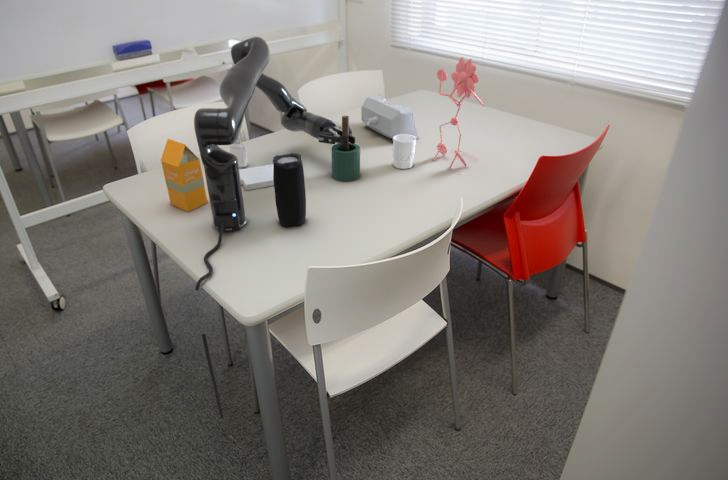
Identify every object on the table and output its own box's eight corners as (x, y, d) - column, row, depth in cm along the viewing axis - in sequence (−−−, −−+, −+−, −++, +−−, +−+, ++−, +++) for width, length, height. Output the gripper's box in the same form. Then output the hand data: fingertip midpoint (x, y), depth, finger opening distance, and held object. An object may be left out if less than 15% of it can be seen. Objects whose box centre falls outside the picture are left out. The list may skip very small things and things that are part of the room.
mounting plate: (281, 167, 181) (280, 162, 179) (291, 182, 170) (291, 176, 169) (230, 176, 175) (230, 171, 174) (239, 191, 165) (238, 186, 164)
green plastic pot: (361, 180, 170) (361, 152, 165) (333, 182, 170) (332, 153, 164) (357, 169, 178) (358, 141, 173) (331, 170, 178) (330, 143, 172)
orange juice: (190, 195, 164) (178, 134, 153) (208, 202, 159) (196, 140, 148) (170, 204, 159) (156, 142, 148) (187, 212, 154) (174, 149, 143)
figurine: (462, 178, 170) (476, 69, 150) (419, 153, 189) (426, 53, 170) (498, 169, 175) (516, 63, 156) (453, 145, 195) (464, 48, 175)
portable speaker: (302, 212, 153) (298, 149, 142) (310, 226, 145) (307, 162, 134) (274, 216, 151) (268, 153, 140) (281, 231, 143) (275, 166, 132)
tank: (351, 128, 213) (351, 98, 206) (383, 122, 220) (384, 92, 213) (385, 147, 195) (386, 114, 188) (418, 139, 202) (420, 107, 195)
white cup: (388, 167, 179) (389, 140, 173) (396, 159, 185) (398, 132, 179) (409, 171, 176) (411, 143, 170) (417, 163, 182) (419, 136, 176)
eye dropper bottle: (237, 169, 180) (233, 136, 173) (230, 164, 184) (226, 132, 177) (248, 166, 182) (244, 133, 176) (241, 161, 186) (237, 129, 179)
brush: (351, 170, 171) (351, 118, 161) (341, 171, 171) (340, 118, 161) (350, 166, 174) (350, 114, 164) (340, 167, 174) (339, 115, 164)
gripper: (303, 121, 171) (334, 135, 159) (335, 113, 178) (367, 125, 166) (304, 143, 175) (334, 158, 164) (336, 133, 182) (367, 147, 170)
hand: (351, 141), depth 165 cm, fingers closed on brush, 2 cm apart
